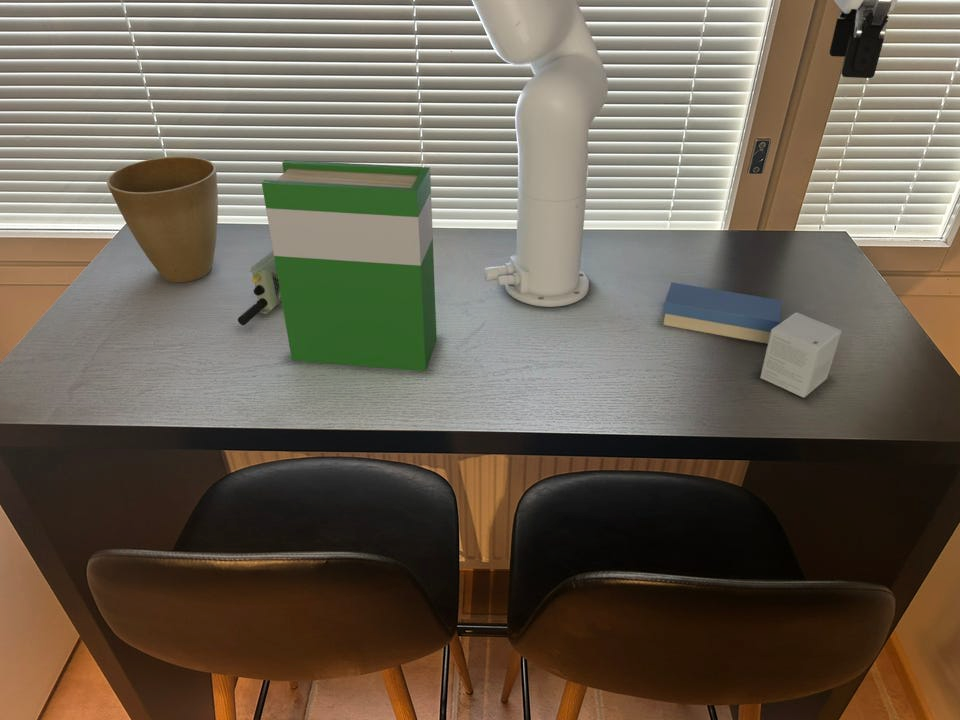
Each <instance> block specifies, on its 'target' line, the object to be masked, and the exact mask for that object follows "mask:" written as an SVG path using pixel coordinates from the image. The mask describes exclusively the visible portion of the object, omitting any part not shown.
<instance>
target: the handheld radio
mask: <svg viewBox="0 0 960 720" xmlns="http://www.w3.org/2000/svg"><path fill="white" fill-rule="evenodd" d="M249 272H250V273H251V274H252V277H251V280H252V282H254V288H253V294H254V295H255V296H256V297H257V301H256V303H255V304H253V305H251V307H249V308H248V309H247V310H246V311H245V312H243V313H242V314H241V315H240V316H238V318H237V323H238V324H239V325H240V326H245V325H246V324H248V323H249V322H250V321H251V320H253V318H254V317H255V316H257V315H258V314H264V315H267V314H269V313H270V312H271V311H272V310H273V309H275V308H276V307H277V306H278V305H280V303H282V299H281V294H280V288H279V282H278V276H277V270H276V264H275V258H274V252H273V250H272V251H269V253H268V254H267V255H265V256H264V257H263V258H261V259H260V260H259V261H258V262H256V263H255V264H254V265H252V266H251V268H250V270H249Z"/></svg>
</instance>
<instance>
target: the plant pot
mask: <svg viewBox="0 0 960 720" xmlns="http://www.w3.org/2000/svg"><path fill="white" fill-rule="evenodd" d="M217 176H218V175H217V167H216V165H215V163H214V162H212V161H211V160H209V159H205V158H202V157H196V156H185V155H183V156H181V155H179V156H165V157H164V156H163V157H154V158H150V159H145V160H140V161H137V162H134V163H130V164H127V165H125V166H123V167H121V168H118V169H117V170H115V171H113V172H112V173H111V174H109V175H108V176H107V178H106V185H107V186H108V189H109V192H110V193H111V196H112V197H113V199H114V201H115V203H116V206H117V208H118V211H119V212H120V214H121V216H122V218H123V220H124V222H125V223H126V225H127V227H128V229H129V231H130V232H131V234H132V235H133V237H134V239H135V240H136V242H137V244H138V246H139V247H140V249H141V250H142V252H143V253H144V254H145V256H146V257H147V258H148V260H149V261H150V262H151V264H152V266H153V267H154V269H155V270H157V272H158V273H159V274H160V276H161V277H162V278H163V279H164V280H166V281H167V282H172V283H188V282H192V281H197V280H199V279H202V278H204V277H206V276H207V275H208V274H210V272H211V271H212V268H213V263H214V257H215V252H216V245H217V234H218V220H219V219H218V218H219V217H218V216H219V193H218V177H217Z"/></svg>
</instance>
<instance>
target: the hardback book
mask: <svg viewBox="0 0 960 720" xmlns="http://www.w3.org/2000/svg"><path fill="white" fill-rule="evenodd" d="M281 163H282V164H281V165H282V171H283V173H282V174H281V175H280V176H279V177H278V178H277V179H276V180H271V179H264V180H263V181H262V182H261V187H262V193H263V199H264V204H265V210H266V216H267V217H266V218H267V221H268V228H269V234H270V240H271V246H272V251H273V252H274V258H275V264H276V270H277V276H278V282H279V288H280V294H281V299H282V301H281V305H282V311H283V316H284V323H285V328H286V334H287V339H288V346H289V352H290V359H291V361H295V362H296V361H297V362H307V363H308V362H309V363H321V364H333V365H344V366H354V367H355V366H357V367H369V368H380V369H393V370H404V371H415V372H427V369H428V366H429V363H430V361H431V357H432V354H433V352H434V349H435V346H436V343H437V339H438V338H437V337H438V336H437V314H436V313H437V312H436V289H435V287H436V286H435V263H434V261H435V260H434V259H435V258H434V236H433V210H432V209H433V208H432V182H431V179H432V177H431V167H428V166H410V165H409V166H408V165H390V164H369V163H351V162H334V161H333V162H332V161H331V162H329V161H311V160H309V161H308V160H295V159H293V160H292V159H285V160H283V161H282V162H281Z"/></svg>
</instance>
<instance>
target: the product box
mask: <svg viewBox="0 0 960 720" xmlns="http://www.w3.org/2000/svg"><path fill="white" fill-rule="evenodd" d="M841 334H842V330H841V329H839V328H836V327H835V326H832V325H830V324H826V323H825V322H821V321H819V320H816V319H815V318H811V317H809V316H807V315H804V314H802V313H800V312H797V311H796V312H794V313H793V314H791V315H789V316H788V317H787V318H786V319H784V320H783V321H781V322H780V324H779V325H777V326H776V327H774V328H773V329H772V330H771V334H770V338H769V342H768V344H767V346H766V349H765V350H766V351H765V354H764V359H763V363H762V368H761V372H760V376H759V378H760V379H761V380H763V381H766V382H768V383H771V384H773V385H774V386H777V387H779V388H782V389H784V390H785V391H787V392H790V393H792V394H795V395H796V396H799V397H800V398H806V397H807V396H808V395H809V394H811V392H813V391H814V390H816V388H818V387H819V386H820V385H821V384H823V383H824V382H825V381H826V380H828V377H829V373H830V369H831V367H832V364H833V361H834V358H835V354H836V352H837V348H838V345H839V342H840V338H841V336H842V335H841Z"/></svg>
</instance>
